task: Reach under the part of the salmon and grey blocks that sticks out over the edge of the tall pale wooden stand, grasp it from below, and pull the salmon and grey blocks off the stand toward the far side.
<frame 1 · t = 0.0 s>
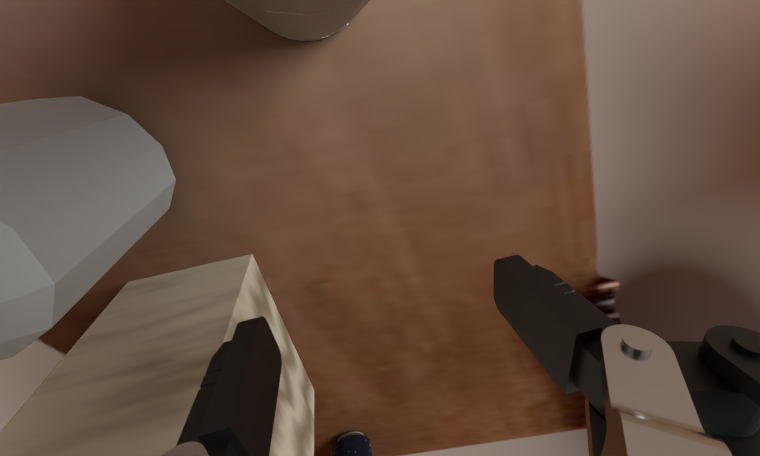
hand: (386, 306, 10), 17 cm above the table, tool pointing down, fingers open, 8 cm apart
stand: (238, 346, 33), on the table
jar: (107, 164, 22), on the table
beverage can: (350, 437, 46), on the table
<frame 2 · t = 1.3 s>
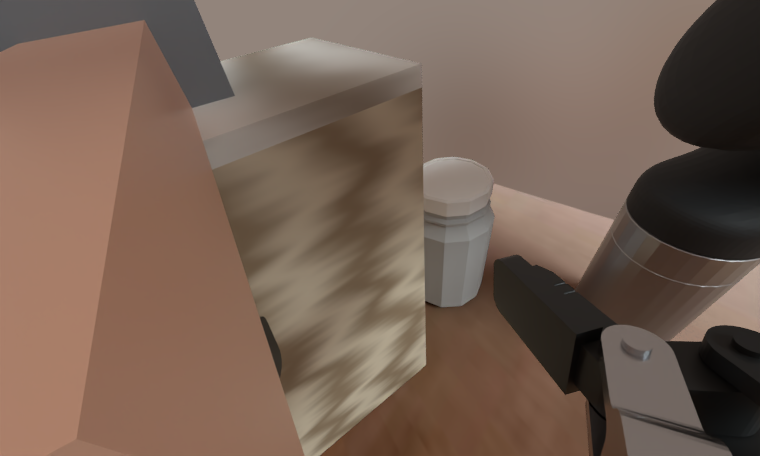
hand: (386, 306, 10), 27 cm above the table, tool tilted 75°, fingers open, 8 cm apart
stand: (321, 387, 34), on the table
jar: (444, 282, 43), on the table
salmon and grey blocks: (143, 162, 9), point 32 cm above the table, touching stand
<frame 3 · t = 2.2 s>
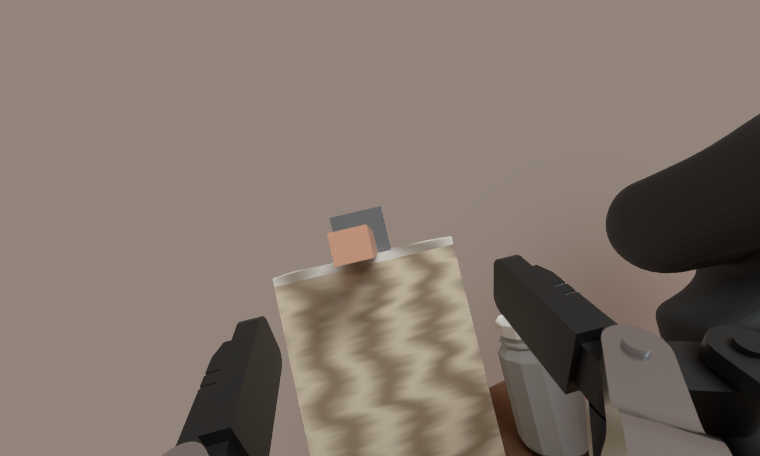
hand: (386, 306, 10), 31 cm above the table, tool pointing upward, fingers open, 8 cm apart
jar: (556, 441, 43), on the table
salmon and grey blocks: (362, 257, 36), point 32 cm above the table, touching stand
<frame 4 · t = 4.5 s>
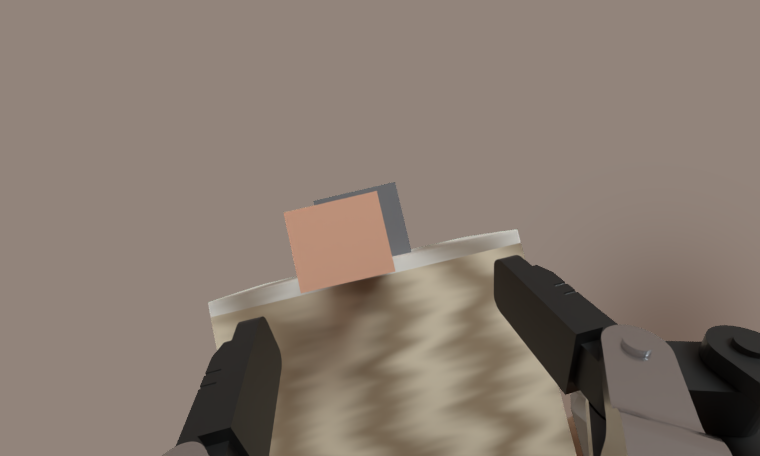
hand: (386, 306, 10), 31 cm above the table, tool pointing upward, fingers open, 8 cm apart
salmon and grey blocks: (366, 264, 21), point 32 cm above the table, touching stand
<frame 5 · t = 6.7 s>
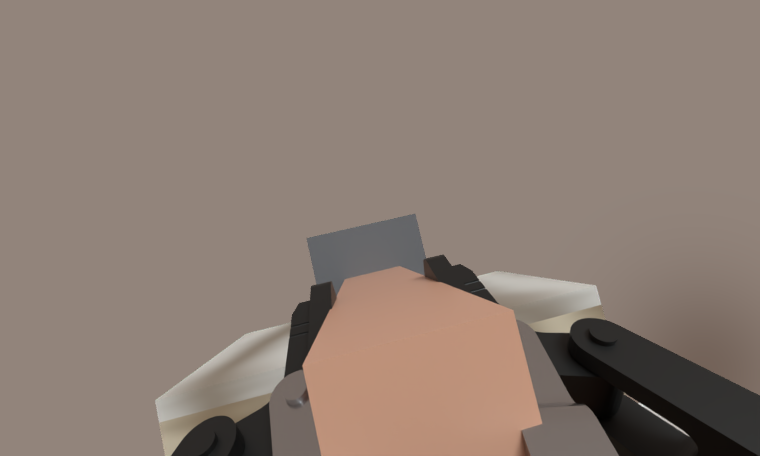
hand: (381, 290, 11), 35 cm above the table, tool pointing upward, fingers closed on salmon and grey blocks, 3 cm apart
salmon and grey blocks: (390, 339, 15), point 32 cm above the table, touching gripper, stand
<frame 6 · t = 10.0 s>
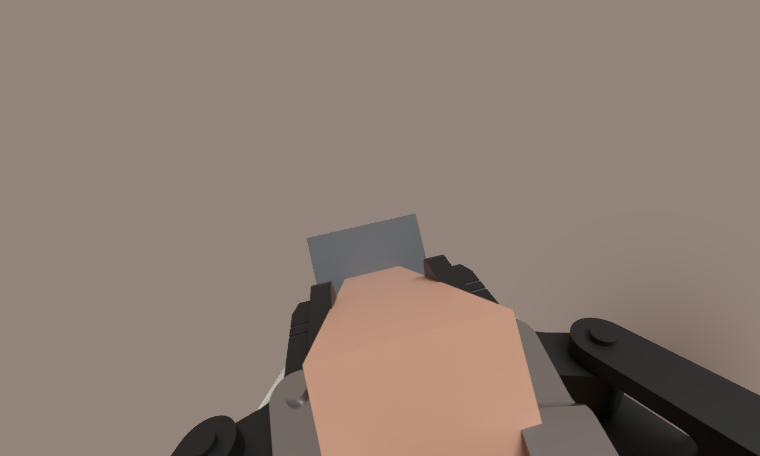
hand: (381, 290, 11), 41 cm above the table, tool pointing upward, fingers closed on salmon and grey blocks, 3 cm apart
salmon and grey blocks: (390, 339, 15), point 38 cm above the table, touching gripper
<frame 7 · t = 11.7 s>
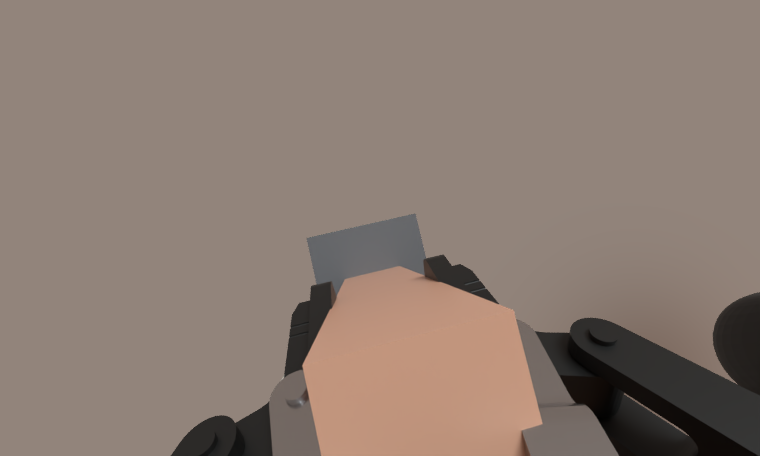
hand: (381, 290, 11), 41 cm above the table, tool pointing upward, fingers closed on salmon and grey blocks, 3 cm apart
salmon and grey blocks: (390, 339, 15), point 38 cm above the table, touching gripper
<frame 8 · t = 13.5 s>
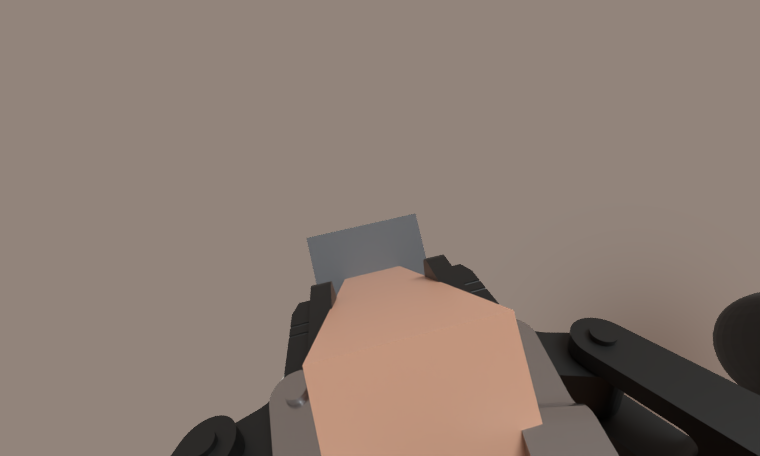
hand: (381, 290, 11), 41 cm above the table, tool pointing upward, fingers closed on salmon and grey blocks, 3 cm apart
salmon and grey blocks: (390, 339, 15), point 38 cm above the table, touching gripper
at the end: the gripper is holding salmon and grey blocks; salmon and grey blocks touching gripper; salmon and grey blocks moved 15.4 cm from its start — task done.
